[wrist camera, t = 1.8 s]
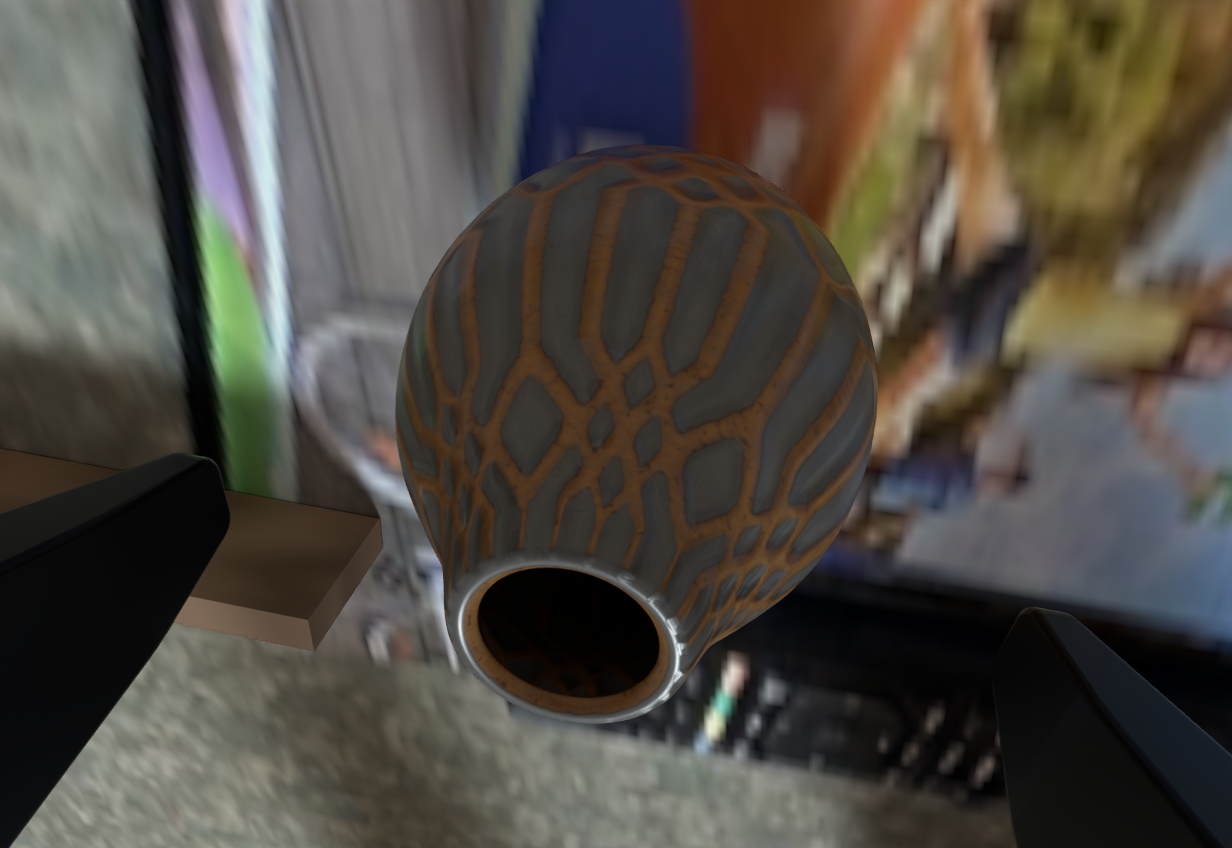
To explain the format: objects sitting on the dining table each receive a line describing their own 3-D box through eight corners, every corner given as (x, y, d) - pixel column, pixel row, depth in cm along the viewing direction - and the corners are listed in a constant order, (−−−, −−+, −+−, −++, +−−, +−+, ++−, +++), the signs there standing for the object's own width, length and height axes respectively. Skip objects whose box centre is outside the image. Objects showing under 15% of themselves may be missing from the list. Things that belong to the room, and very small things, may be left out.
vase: (505, 79, 13) (143, 217, 5) (902, 151, 12) (1129, 416, 5) (487, 412, 16) (263, 769, 9) (790, 476, 16) (820, 908, 8)
